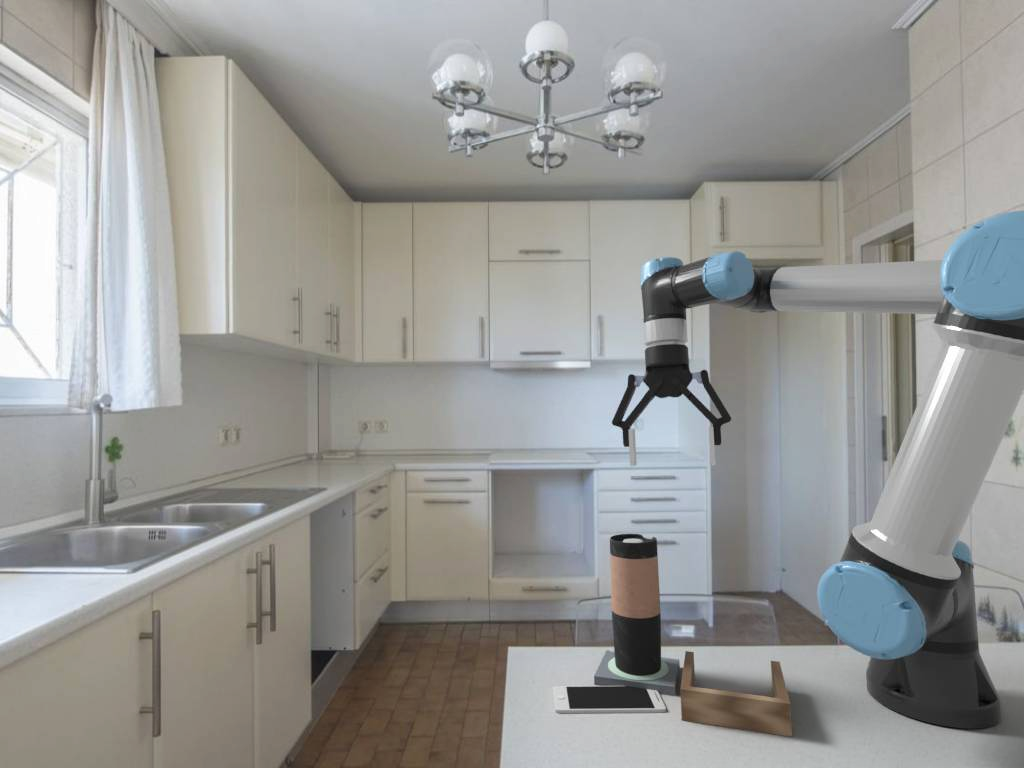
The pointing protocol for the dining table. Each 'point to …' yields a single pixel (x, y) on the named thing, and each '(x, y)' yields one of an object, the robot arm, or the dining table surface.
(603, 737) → the dining table surface
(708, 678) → the dining table surface
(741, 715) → the mug cradle
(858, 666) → the dining table surface
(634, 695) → the smartphone
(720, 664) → the dining table surface
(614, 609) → the travel mug
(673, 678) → the dock pad
